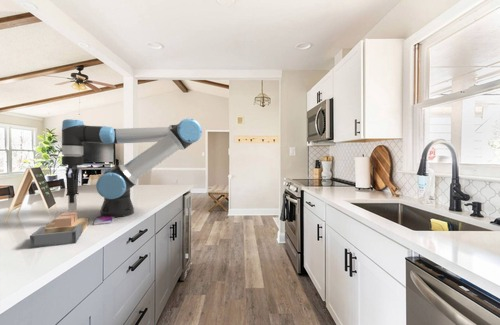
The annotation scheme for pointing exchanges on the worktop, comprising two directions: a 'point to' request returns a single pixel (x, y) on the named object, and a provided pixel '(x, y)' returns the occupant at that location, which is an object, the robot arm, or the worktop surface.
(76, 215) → the tile
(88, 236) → the worktop surface
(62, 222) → the tile
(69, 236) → the tray
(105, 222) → the smartphone
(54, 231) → the board
